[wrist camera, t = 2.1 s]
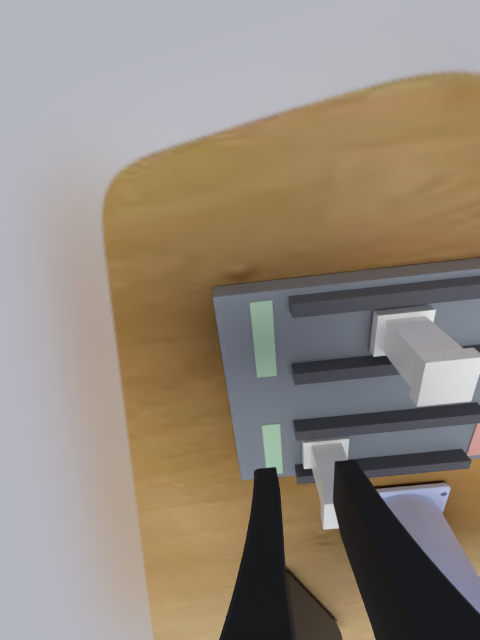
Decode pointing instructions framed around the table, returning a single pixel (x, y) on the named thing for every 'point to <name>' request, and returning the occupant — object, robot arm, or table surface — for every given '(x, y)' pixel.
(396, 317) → the breaker
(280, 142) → the table surface
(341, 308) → the panel
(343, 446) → the breaker
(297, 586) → the leaning round-cornered charcoal block
